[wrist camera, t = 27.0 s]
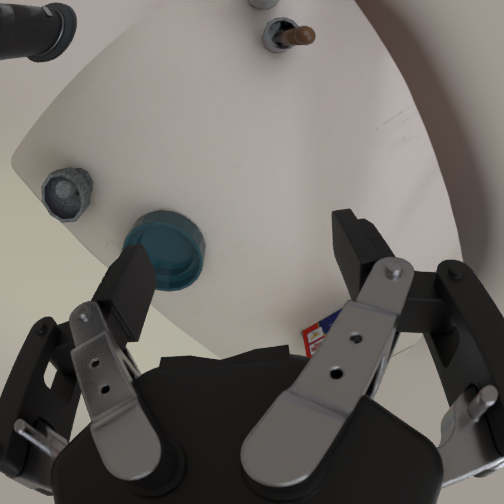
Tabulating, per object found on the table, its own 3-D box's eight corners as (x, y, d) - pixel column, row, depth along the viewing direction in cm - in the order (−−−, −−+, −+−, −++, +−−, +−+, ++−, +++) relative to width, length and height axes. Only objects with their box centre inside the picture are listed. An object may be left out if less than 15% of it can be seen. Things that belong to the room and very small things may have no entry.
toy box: (310, 338, 74) (317, 375, 64) (302, 331, 72) (308, 369, 62) (371, 302, 67) (387, 339, 58) (365, 293, 66) (380, 330, 56)
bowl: (146, 279, 62) (140, 294, 58) (120, 217, 54) (110, 231, 49) (213, 270, 61) (211, 286, 57) (194, 202, 52) (189, 215, 48)
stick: (272, 46, 37) (297, 45, 22) (270, 34, 36) (294, 25, 20) (285, 44, 37) (319, 44, 22) (283, 33, 36) (316, 24, 20)
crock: (264, 54, 38) (267, 50, 32) (259, 28, 36) (262, 19, 29) (293, 51, 38) (303, 47, 31) (289, 25, 35) (297, 16, 29)
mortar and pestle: (82, 214, 53) (54, 247, 43) (52, 183, 48) (18, 211, 39) (114, 178, 49) (85, 207, 39) (81, 143, 45) (45, 165, 35)
